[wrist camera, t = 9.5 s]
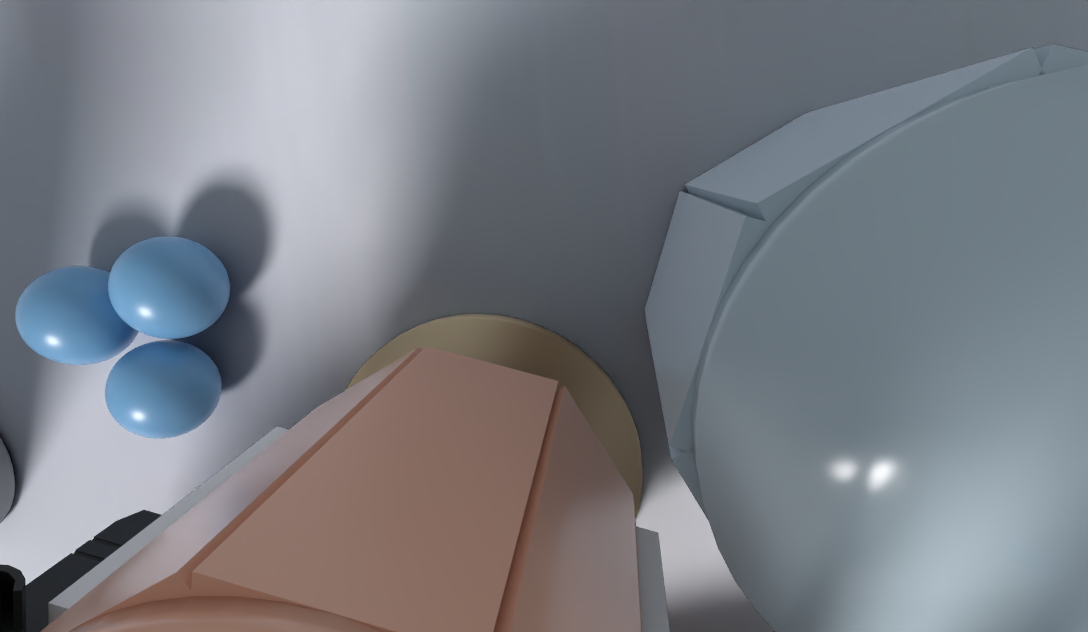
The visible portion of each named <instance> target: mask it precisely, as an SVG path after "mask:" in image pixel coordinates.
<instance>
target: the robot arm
mask: <svg viewBox="0 0 1088 632" xmlns="http://www.w3.org/2000/svg"><path fill="white" fill-rule="evenodd" d="M287 431H288V429H285V428H281V427H278V426H277V427H275V428H274V429H273V430H271V431H270V432H269V433H267V434H266V435H265V436H264V437H262V438H261V439H260V440H258V441H257V442H256V443H255V444H253V445H252V446H251V447H249V448H248V449H247V450H246V451H244V452H243V453H242V454H240V455H239V456H238V457H236V458H235V459H234V460H233V461H231V462H230V463H229V464H227V465H226V466H225V467H224V468H222V469H221V470H220V471H218V472H217V473H216V474H214V475H213V476H212V477H211V478H209V479H208V480H207V481H205V482H204V483H203V484H202V485H200V486H199V487H198V488H196V489H195V490H194V491H192V492H191V493H190V494H189V495H187V496H186V497H185V498H183V499H182V500H181V501H180V502H178V503H177V504H176V505H174V506H173V507H172V508H170V509H169V510H168V511H167V512H165V513H164V514H163V515H160V514H156V513H153V512H150V511H146V510H143V511H140V512H138V513H135V514H133V515H130V516H128V517H125V518H123V519H120V520H118V521H116V522H114V523H113V524H111V525H110V526H109V527H107V528H106V529H104V530H103V531H102V532H100V533H99V534H97V535H96V536H95V537H94V539H93V540H92V541H91V540H89V541H88V542H86V543H85V544H83V545H82V546H81V547H79V548H78V549H76V551H75V553H74V554H69V555H68V556H67V557H65V558H64V559H62V560H61V561H60V562H58V563H57V564H55V565H54V566H53V567H51V568H50V569H48V570H47V571H46V572H44V573H43V574H41V575H40V576H39V577H37V578H36V579H34V580H33V581H32V582H30V583H29V584H27V585H26V586H25V578H24V576H23V574H22V572H21V571H20V570H18V569H16V568H14V567H11V566H9V565H0V632H40V631H42V630H43V629H44V628H45V627H47V626H48V625H49V624H50V623H52V622H53V621H54V620H55V619H56V618H58V617H59V616H60V615H61V614H63V613H64V612H65V611H66V610H68V609H69V608H70V607H71V606H72V605H74V604H75V603H76V602H77V601H79V600H80V599H81V598H82V597H84V596H85V595H86V594H87V593H88V592H90V591H91V590H92V589H93V588H95V587H96V586H97V585H98V584H100V583H101V582H102V581H103V580H105V579H106V578H107V577H108V576H109V575H111V574H112V573H113V572H114V571H116V570H117V569H118V568H119V567H121V566H122V565H123V564H124V563H125V562H127V561H128V560H129V559H130V558H132V557H133V556H134V555H135V554H137V553H138V552H139V551H140V550H141V549H143V548H144V547H145V546H146V545H148V544H149V543H150V542H151V541H153V540H154V539H155V538H156V537H157V536H159V535H160V534H161V533H162V532H164V531H165V530H166V529H167V528H169V527H170V526H171V525H172V524H173V523H175V522H176V521H177V520H178V519H180V518H181V517H182V516H183V515H185V514H186V513H187V512H188V511H189V510H191V509H192V508H193V507H194V506H196V505H197V504H198V503H199V502H201V501H202V500H203V499H204V498H205V497H207V496H208V495H209V494H210V493H212V492H213V491H214V490H215V489H217V488H218V487H219V486H220V485H221V484H223V483H224V482H225V481H226V480H228V479H229V478H230V477H231V476H233V475H234V474H235V473H236V472H238V471H239V470H240V469H241V468H242V467H244V466H245V465H246V464H247V463H249V462H250V461H251V460H252V459H254V458H255V457H256V456H257V455H258V454H260V453H261V452H262V451H263V450H265V449H266V448H267V447H268V446H270V445H271V444H272V443H273V442H274V441H276V440H277V439H278V438H279V437H281V436H282V435H283V434H284V433H286V432H287ZM636 540H637V556H638V573H639V590H640V607H641V624H642V632H670V628H669V620H668V611H667V603H666V595H665V586H664V578H663V569H662V561H661V552H660V544H659V535H658V533H657V532H654V531H650V530H647V529H643V528H639V527H636Z"/></svg>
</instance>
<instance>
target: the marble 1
mask: <svg viewBox="0 0 1088 632" xmlns="http://www.w3.org/2000/svg"><path fill="white" fill-rule="evenodd" d="M109 275H110V272H107V271H105V270H102V269H98V268H93V267H87V266H71V267H63V268H59V269H55V270H52V271H50V272H48V273H45V274H43V275H41V276H40V277H38V278H37V279H35V280H34V281H33V282H31V283H30V284H29V285H28V286H27V287H26V288H25V290H24V291H23V292H22V294H21V296H20V297H19V300H18V303H17V305H16V310H15V320H16V326H17V329H18V331H19V334H20V335H21V337H22V339H23V340H24V341H25V342H26V344H27V345H28V346H29V347H30V348H31V349H33V350H34V351H35V352H36V353H38V354H40V355H41V356H43V357H45V358H47V359H50V360H52V361H56V362H59V363H63V364H71V365H87V364H94V363H98V362H102V361H105V360H107V359H110V358H112V357H114V356H116V355H117V354H119V353H121V352H122V351H123V350H125V349H126V348H127V347H128V346H129V345H130V344H131V343H132V342H133V340H134V339H135V337H136V335H137V334H138V331H137V330H135V329H134V328H132V327H131V326H129V325H128V324H127V323H126V322H125V321H124V320H122V319H121V318H120V316H119V315H118V314H117V312H116V311H115V309H114V308H113V306H112V303H111V301H110V298H109V293H108V280H109Z"/></svg>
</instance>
